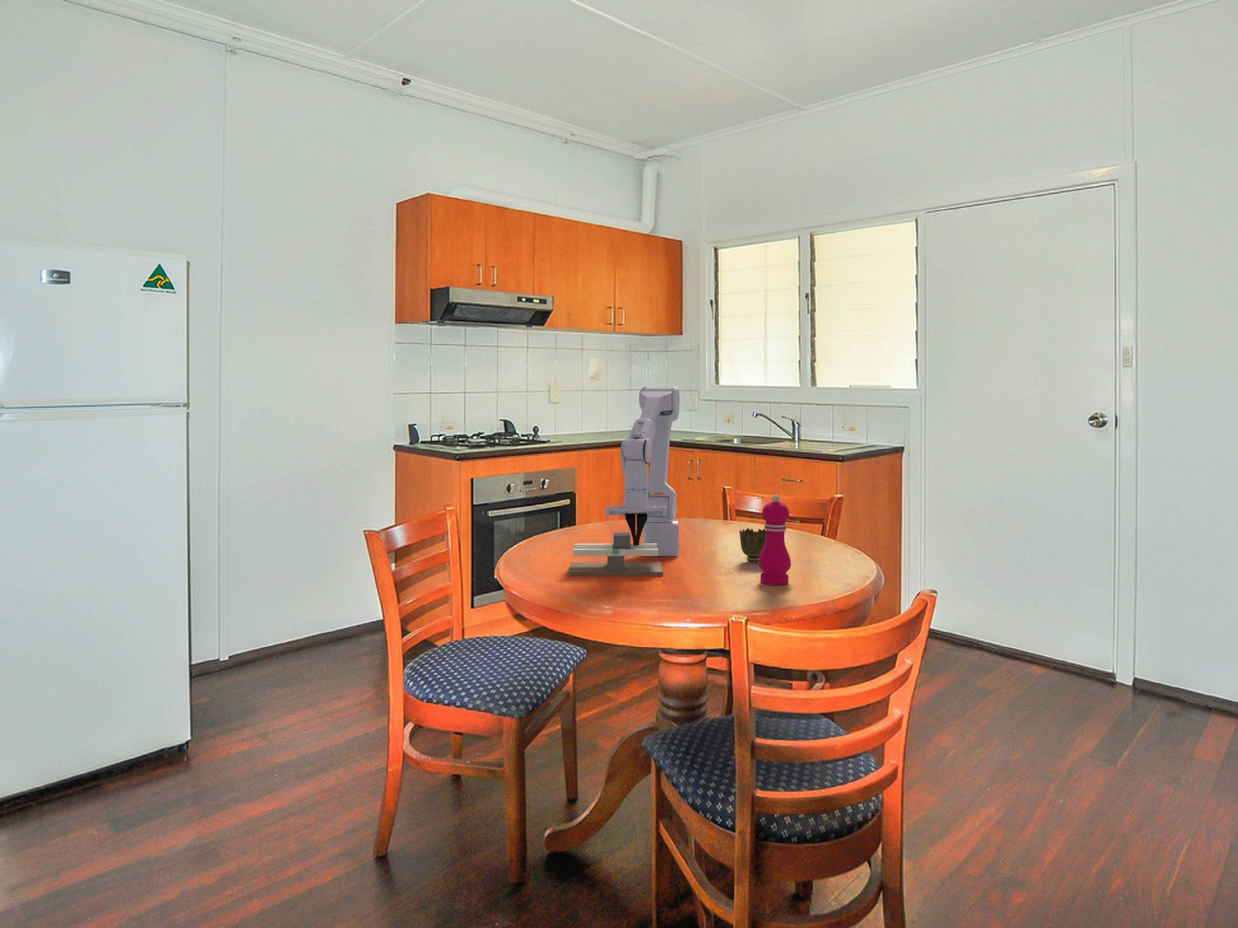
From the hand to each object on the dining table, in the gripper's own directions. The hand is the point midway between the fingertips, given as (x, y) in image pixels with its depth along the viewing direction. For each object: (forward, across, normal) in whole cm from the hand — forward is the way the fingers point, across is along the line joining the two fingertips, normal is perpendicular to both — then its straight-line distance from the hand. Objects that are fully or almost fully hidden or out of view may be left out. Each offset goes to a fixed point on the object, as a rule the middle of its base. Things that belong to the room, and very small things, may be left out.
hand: (636, 544), depth 188 cm
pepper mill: (+7, +31, -11) cm, 34 cm away
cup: (+7, +30, +9) cm, 32 cm away
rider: (+1, -3, 0) cm, 4 cm away
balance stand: (+6, -5, 0) cm, 8 cm away
